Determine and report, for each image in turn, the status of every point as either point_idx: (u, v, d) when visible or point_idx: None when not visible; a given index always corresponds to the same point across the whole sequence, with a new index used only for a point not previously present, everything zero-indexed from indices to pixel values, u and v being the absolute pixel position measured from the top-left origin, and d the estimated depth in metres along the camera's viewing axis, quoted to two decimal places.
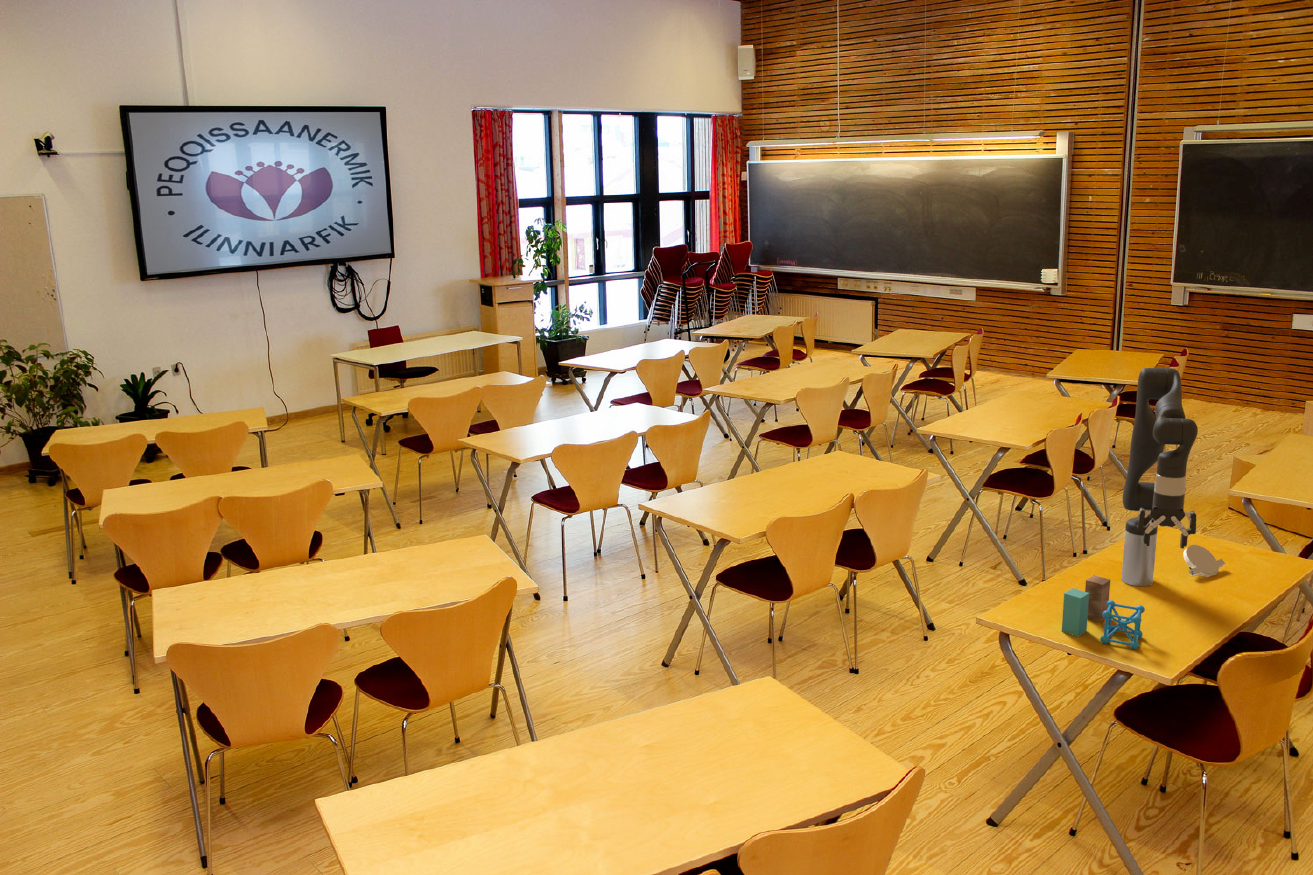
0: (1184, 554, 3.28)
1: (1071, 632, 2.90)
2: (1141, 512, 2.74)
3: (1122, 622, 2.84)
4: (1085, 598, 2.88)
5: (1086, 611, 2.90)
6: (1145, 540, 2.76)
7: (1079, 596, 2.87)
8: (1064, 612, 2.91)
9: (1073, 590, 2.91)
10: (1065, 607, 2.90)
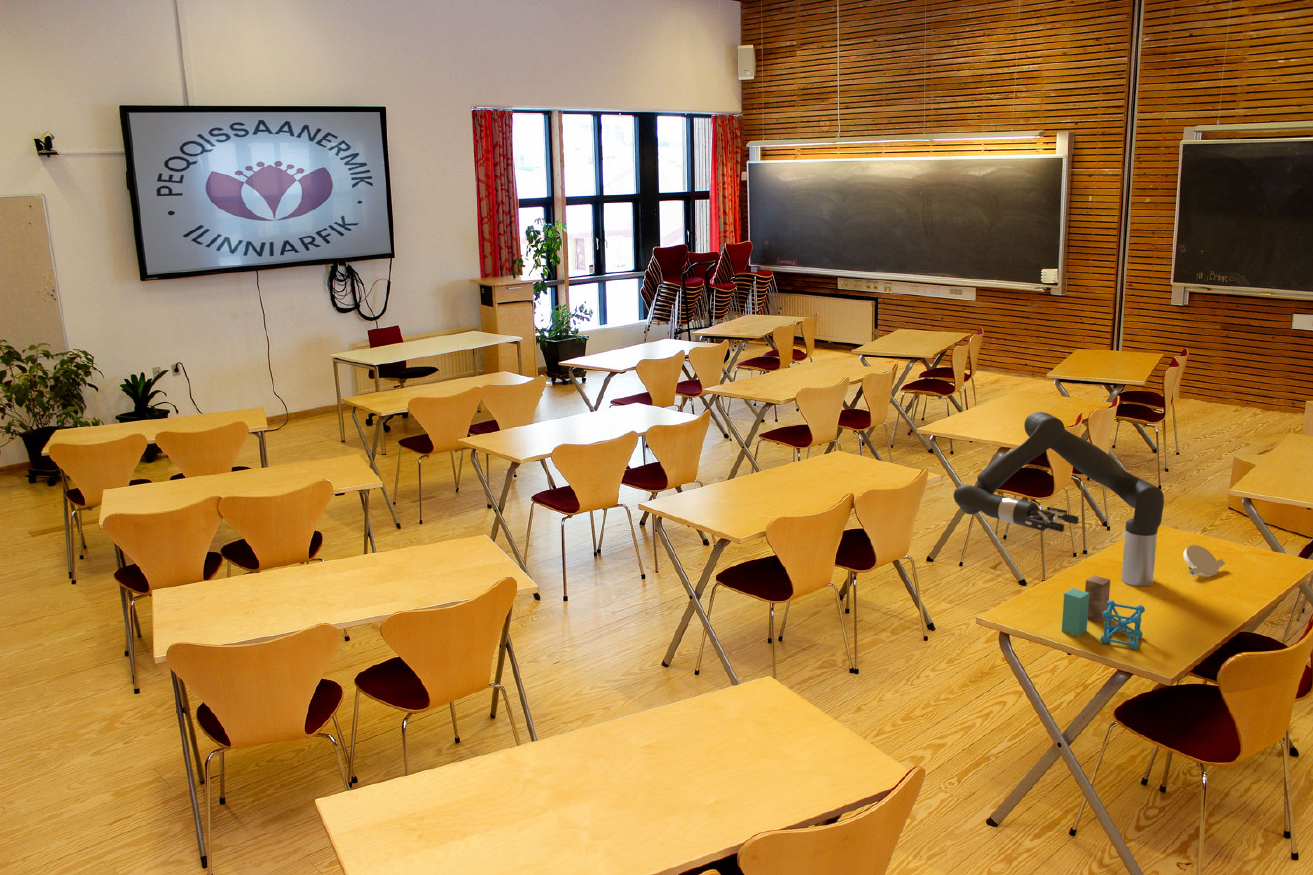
0: (1184, 554, 3.28)
1: (1071, 632, 2.90)
2: None
3: (1122, 622, 2.84)
4: (1085, 598, 2.88)
5: (1086, 611, 2.90)
6: None
7: (1079, 596, 2.87)
8: (1064, 612, 2.91)
9: (1073, 590, 2.91)
10: (1065, 607, 2.90)
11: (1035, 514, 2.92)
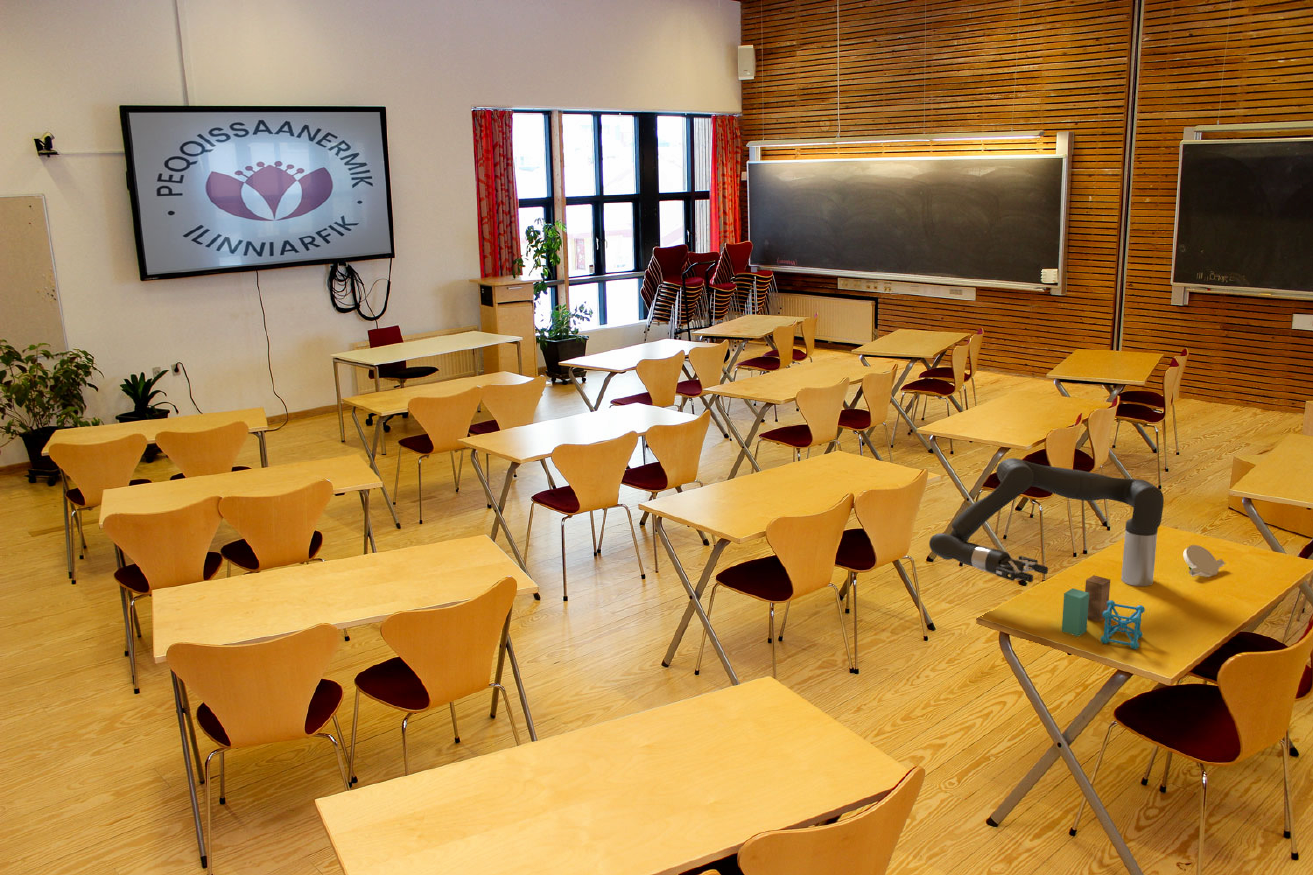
0: (1184, 554, 3.28)
1: (1071, 632, 2.90)
2: None
3: (1122, 622, 2.84)
4: (1085, 598, 2.88)
5: (1086, 611, 2.90)
6: None
7: (1079, 596, 2.87)
8: (1064, 612, 2.91)
9: (1073, 590, 2.91)
10: (1065, 607, 2.90)
11: (1006, 563, 3.03)
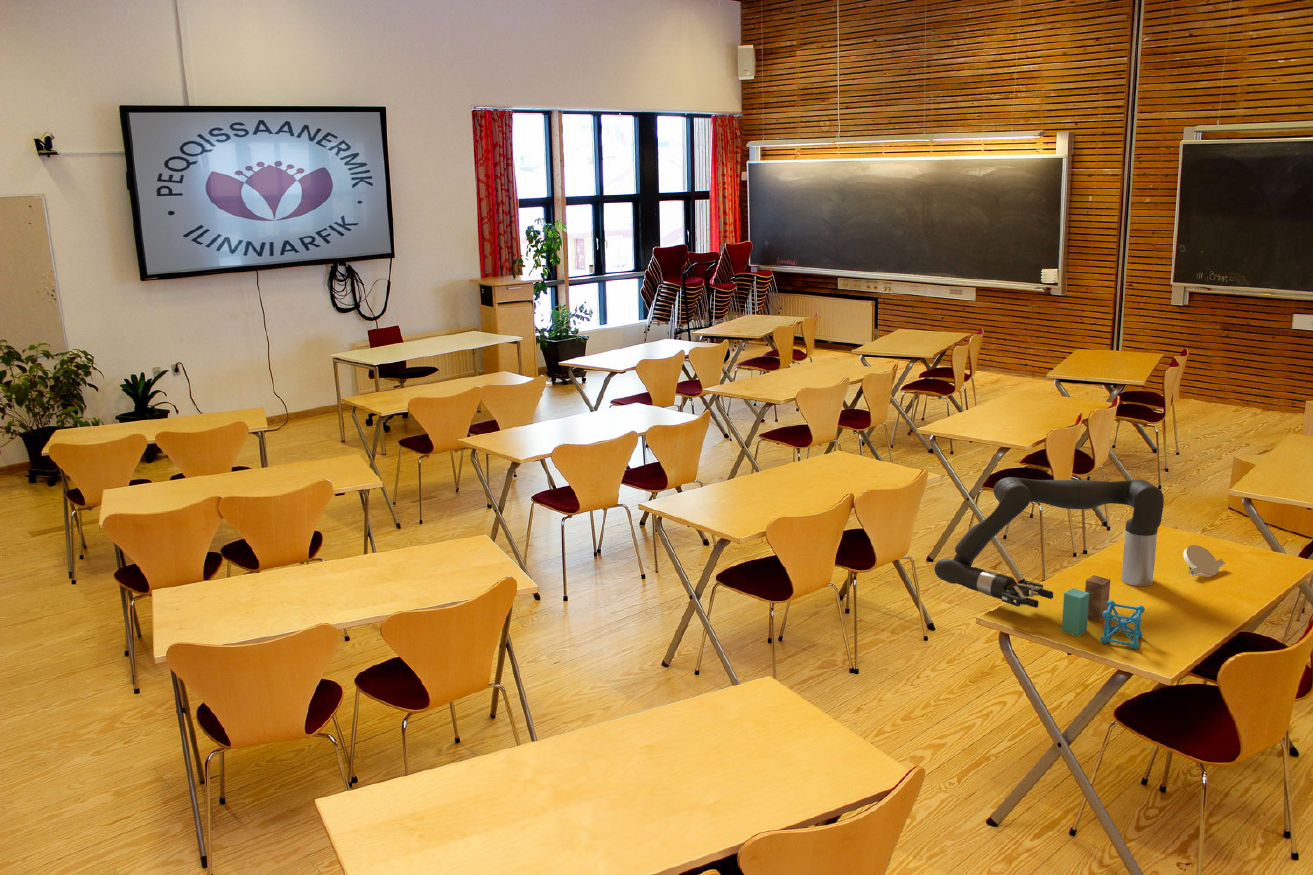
0: (1184, 554, 3.28)
1: (1071, 632, 2.90)
2: None
3: (1122, 622, 2.84)
4: (1085, 597, 2.88)
5: (1086, 611, 2.90)
6: None
7: (1079, 596, 2.87)
8: (1064, 612, 2.91)
9: (1073, 590, 2.91)
10: (1065, 607, 2.90)
11: (1011, 589, 3.03)
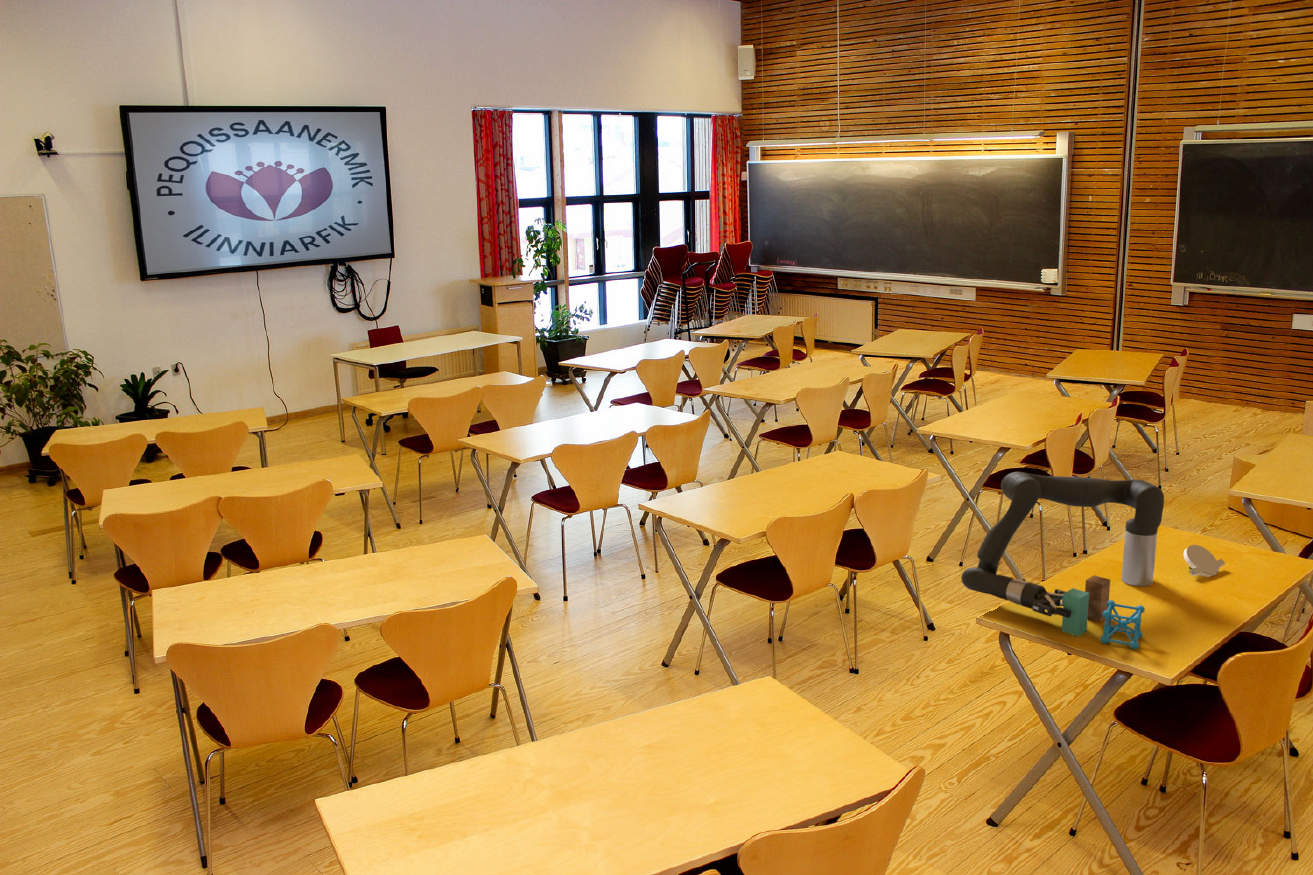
0: (1184, 554, 3.28)
1: (1071, 632, 2.90)
2: None
3: (1122, 622, 2.84)
4: (1085, 598, 2.88)
5: (1086, 611, 2.90)
6: None
7: (1079, 596, 2.87)
8: None
9: (1073, 590, 2.91)
10: (1065, 607, 2.90)
11: (1042, 598, 2.96)
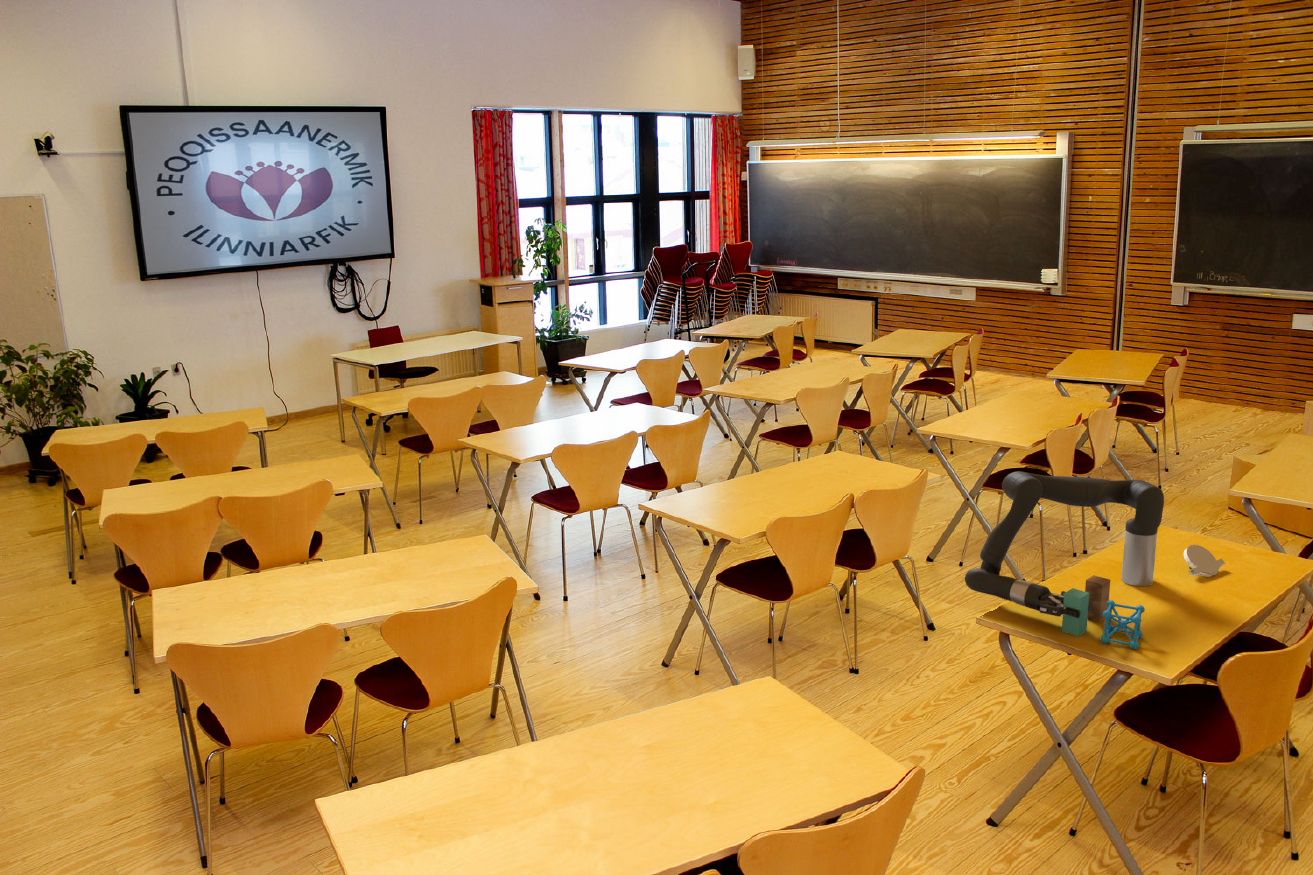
0: (1184, 554, 3.28)
1: (1071, 632, 2.90)
2: None
3: (1122, 622, 2.84)
4: (1085, 597, 2.88)
5: (1086, 611, 2.90)
6: None
7: (1079, 596, 2.87)
8: None
9: (1073, 590, 2.91)
10: None
11: (1046, 599, 2.95)
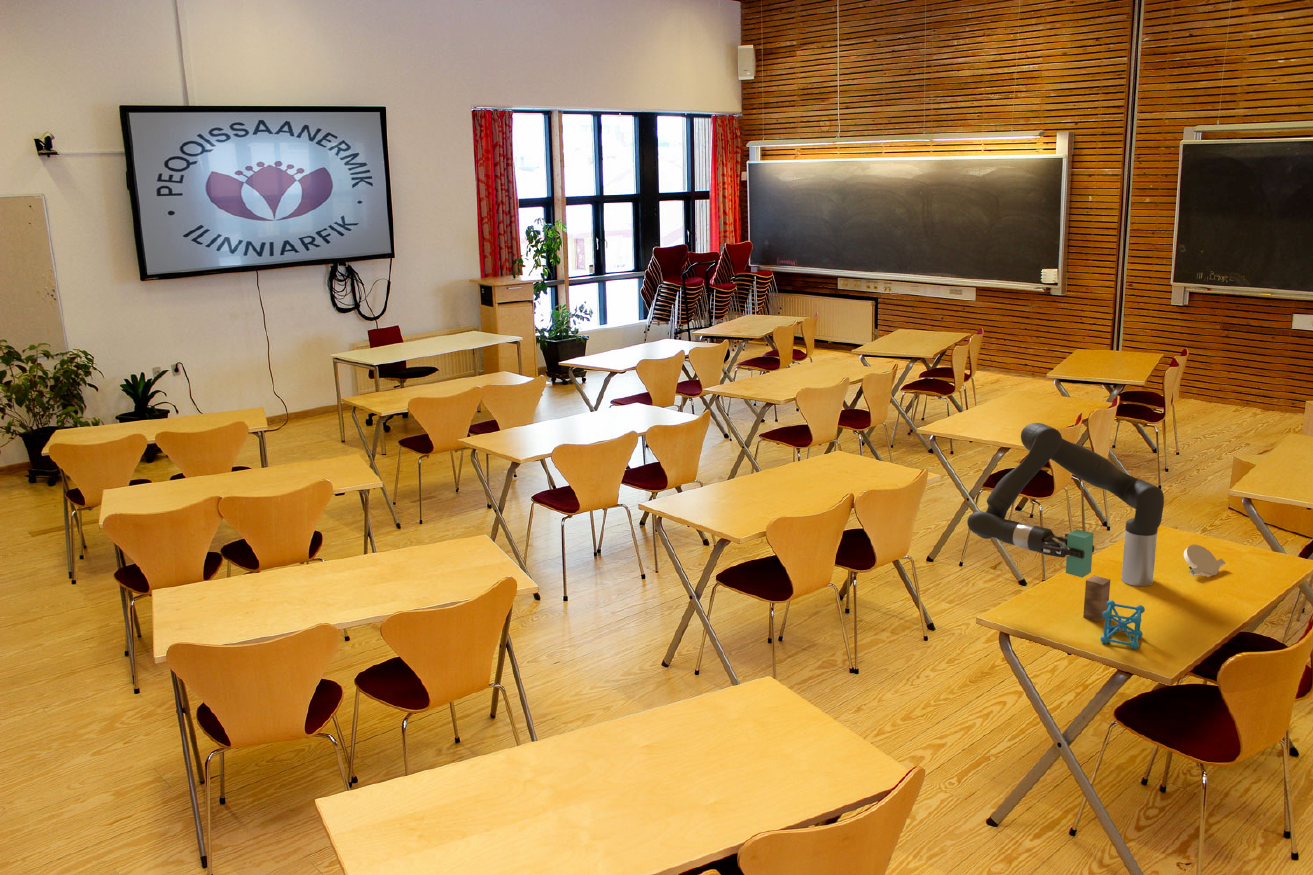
0: (1185, 554, 3.28)
1: (1075, 573, 2.86)
2: None
3: (1122, 622, 2.84)
4: (1089, 538, 2.83)
5: (1090, 552, 2.85)
6: None
7: (1083, 536, 2.82)
8: None
9: (1077, 531, 2.86)
10: None
11: (1050, 541, 2.90)
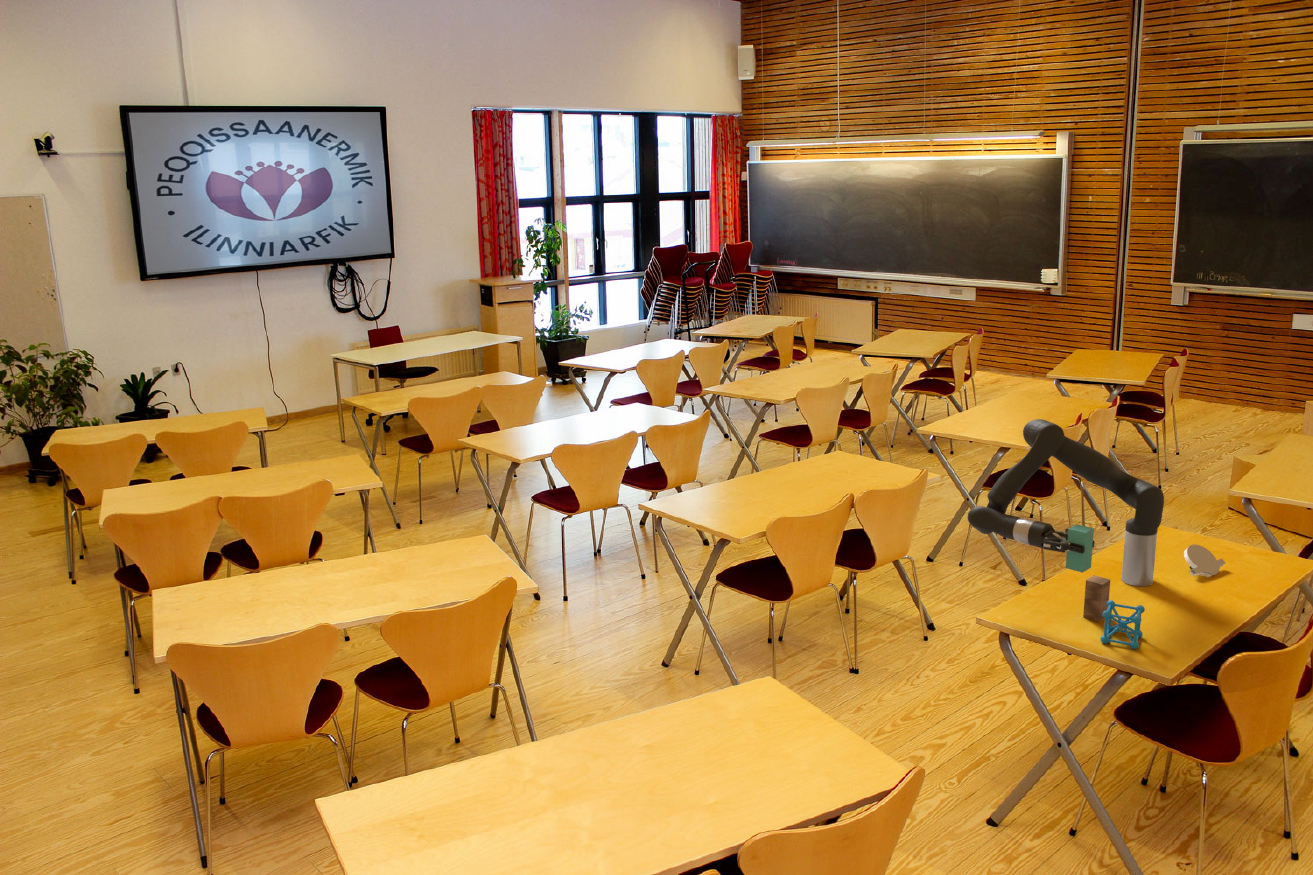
0: (1185, 554, 3.28)
1: (1075, 568, 2.85)
2: None
3: (1122, 622, 2.84)
4: (1090, 533, 2.83)
5: (1091, 547, 2.85)
6: None
7: (1084, 531, 2.82)
8: None
9: (1077, 526, 2.86)
10: None
11: (1050, 536, 2.90)
